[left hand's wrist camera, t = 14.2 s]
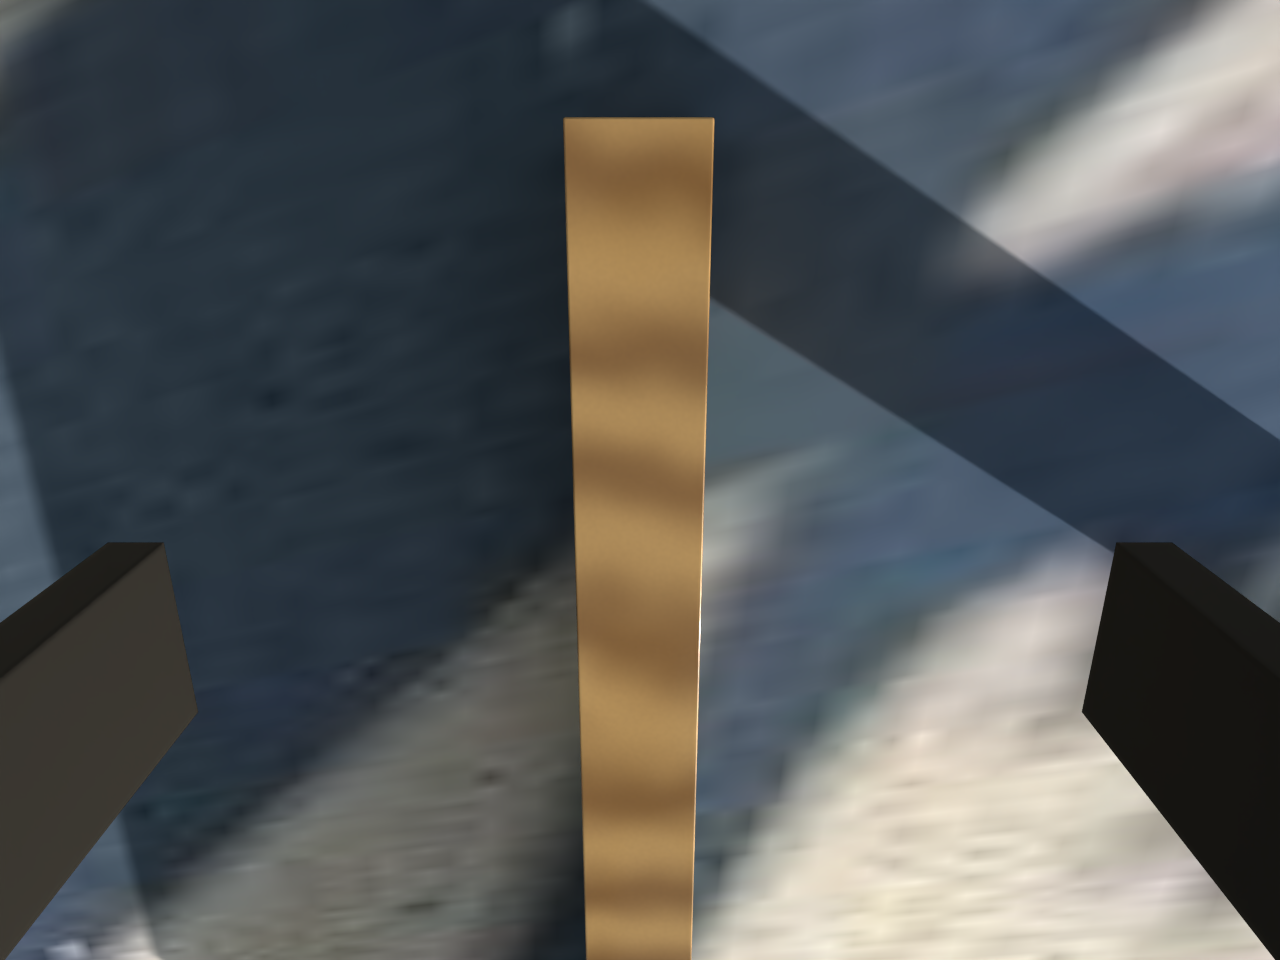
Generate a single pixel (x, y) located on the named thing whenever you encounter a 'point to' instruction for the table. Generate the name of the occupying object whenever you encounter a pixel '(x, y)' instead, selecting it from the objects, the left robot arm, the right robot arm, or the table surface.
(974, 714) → the table surface
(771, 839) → the table surface
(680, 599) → the bar
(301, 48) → the table surface
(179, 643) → the left robot arm
